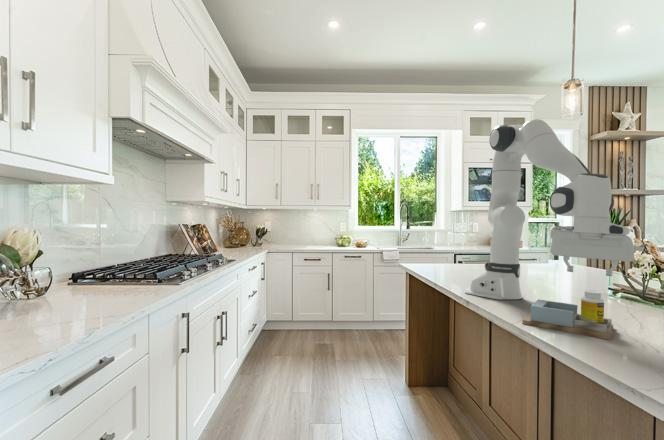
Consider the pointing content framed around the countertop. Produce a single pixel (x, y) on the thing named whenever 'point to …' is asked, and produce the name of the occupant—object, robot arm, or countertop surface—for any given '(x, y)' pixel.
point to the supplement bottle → (592, 307)
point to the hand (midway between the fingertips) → (589, 273)
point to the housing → (553, 312)
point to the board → (578, 327)
